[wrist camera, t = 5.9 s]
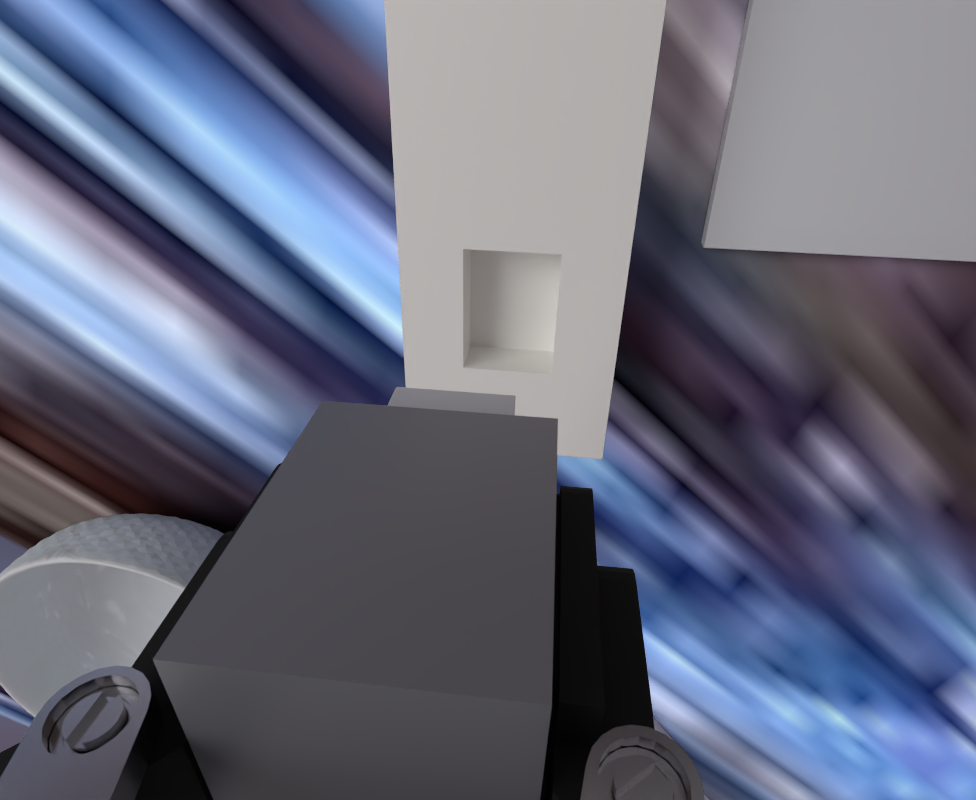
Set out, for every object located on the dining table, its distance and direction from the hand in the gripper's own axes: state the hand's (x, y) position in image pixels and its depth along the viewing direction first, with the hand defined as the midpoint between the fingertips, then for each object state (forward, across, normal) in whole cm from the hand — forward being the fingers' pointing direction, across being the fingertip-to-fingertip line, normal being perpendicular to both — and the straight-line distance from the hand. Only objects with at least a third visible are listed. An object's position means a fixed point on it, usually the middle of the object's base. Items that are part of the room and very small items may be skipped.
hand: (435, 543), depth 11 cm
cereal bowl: (+16, +18, +21) cm, 32 cm away
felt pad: (+16, -13, -7) cm, 22 cm away
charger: (+2, 0, 0) cm, 2 cm away
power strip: (+16, 0, -5) cm, 17 cm away
